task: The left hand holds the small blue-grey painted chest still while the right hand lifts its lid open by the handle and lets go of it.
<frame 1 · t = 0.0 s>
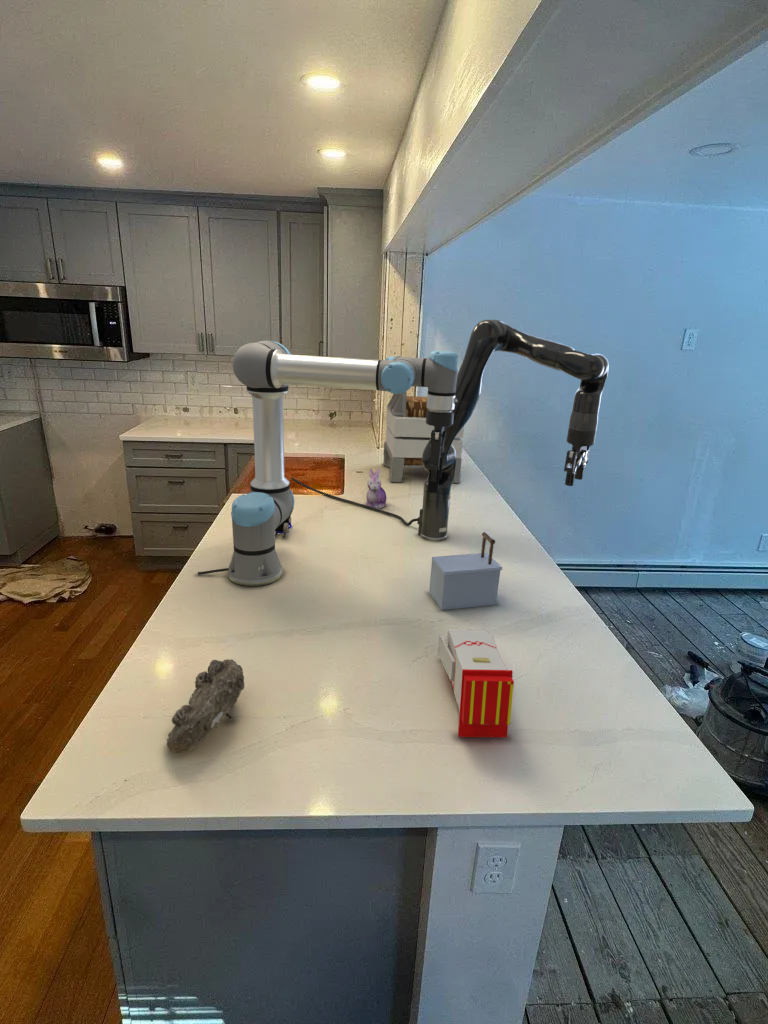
left hand: (434, 485, 161), 28 cm above the counter, tool pointing down, fingers open, 13 cm apart
right hand: (573, 482, 165), 29 cm above the counter, tool pointing down, fingers open, 8 cm apart
lid: (467, 551, 152), point 14 cm above the counter, hinge at 0.0°
toy: (469, 691, 119), on the counter
fossil: (212, 717, 108), on the counter
chest: (462, 598, 157), on the counter
grey slatted crate: (419, 473, 275), on the counter
figurine: (375, 506, 227), on the counter
figurine character: (282, 532, 197), on the counter
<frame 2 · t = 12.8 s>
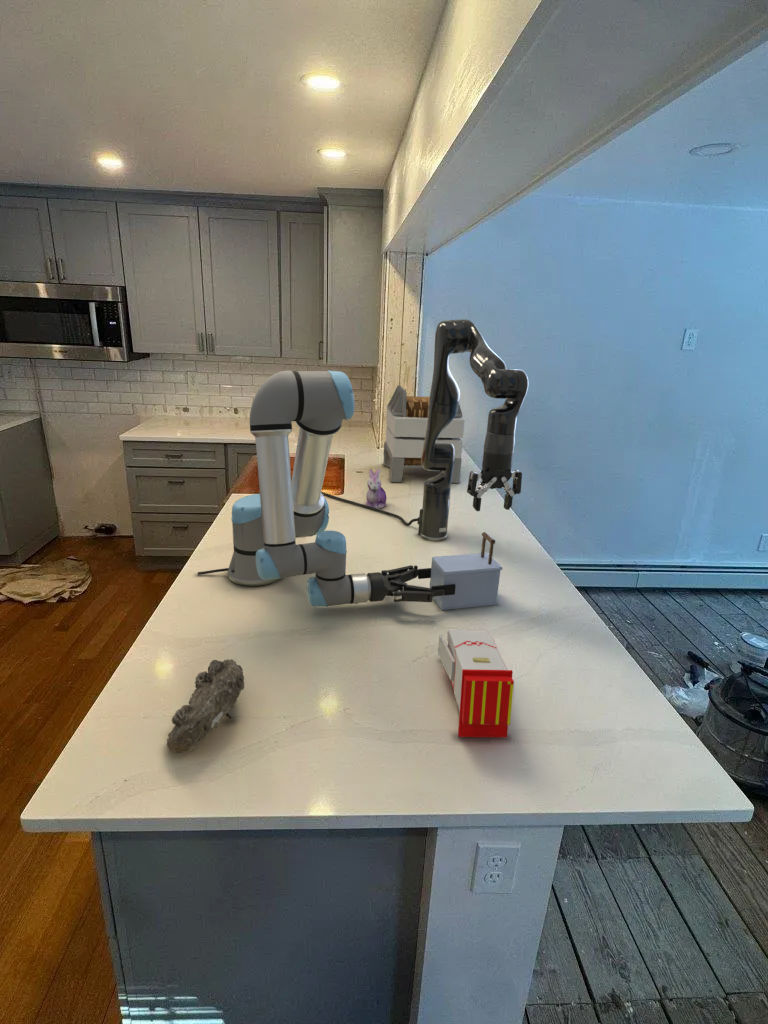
left hand: (447, 580, 154), 6 cm above the counter, tool horizontal, fingers closed on chest, 10 cm apart
right hand: (491, 509, 150), 26 cm above the counter, tool pointing down, fingers open, 8 cm apart
chest: (462, 598, 157), on the counter, touching left hand
everything else where it was.
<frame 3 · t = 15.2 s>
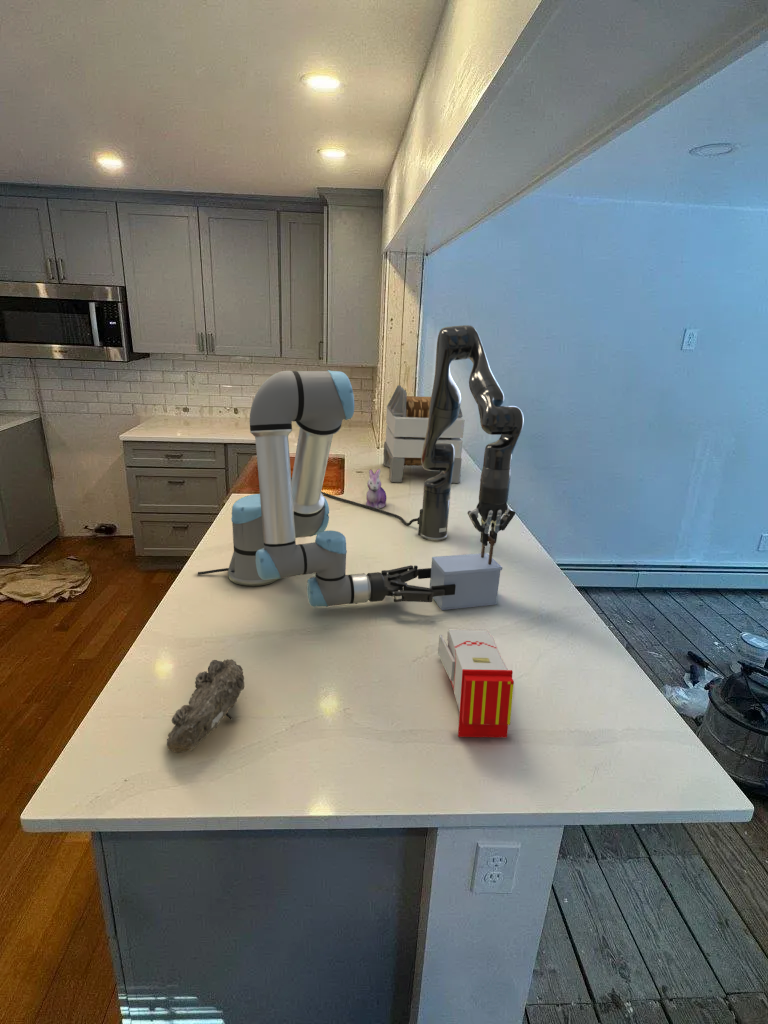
left hand: (447, 580, 153), 6 cm above the counter, tool horizontal, fingers closed on chest, 10 cm apart
right hand: (487, 544, 153), 16 cm above the counter, tool pointing down, fingers closed
lid: (467, 551, 152), point 14 cm above the counter, hinge at -0.1°, touching right hand
chest: (462, 598, 157), on the counter, touching left hand
everything else where it was.
when the left hand's fingers open (6 cm above the counter, at t = 22.5 s): chest stays where it is, on the counter.
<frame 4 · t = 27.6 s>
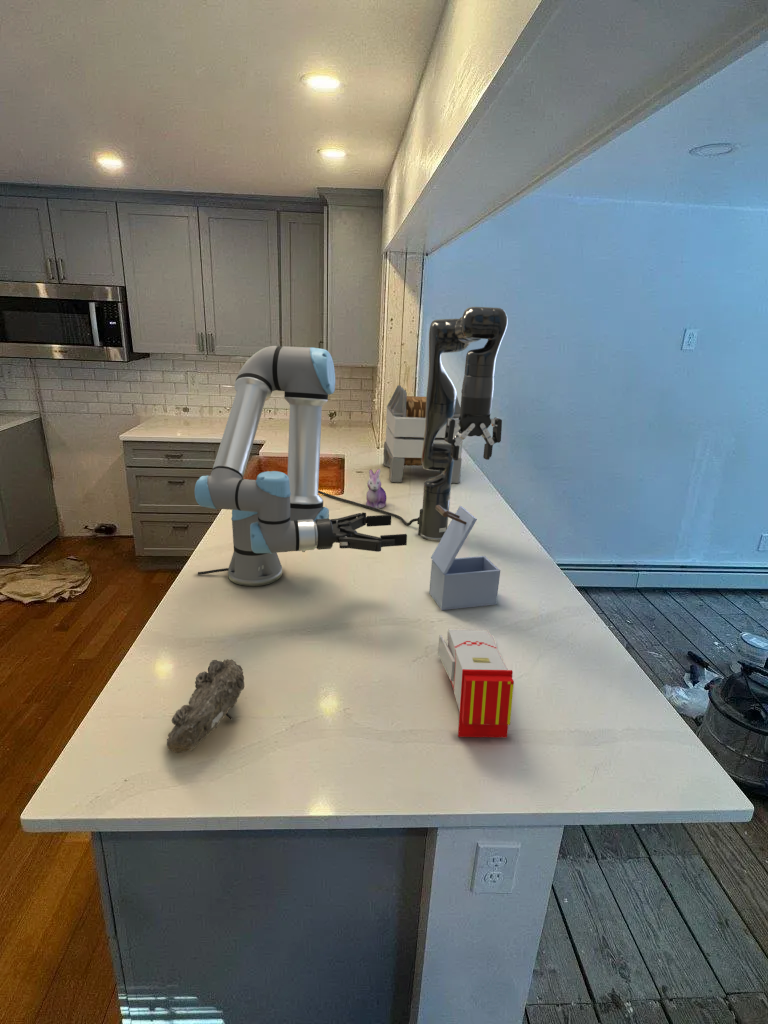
left hand: (398, 529, 144), 22 cm above the counter, tool horizontal, fingers open, 13 cm apart
right hand: (470, 459, 143), 40 cm above the counter, tool pointing down, fingers open, 8 cm apart
lid: (441, 534, 148), point 20 cm above the counter, hinge at 64.1°
chest: (462, 598, 157), on the counter
everything else where it was.
at the end: lid at +64° (first picture: +0°); the left hand is holding nothing; the right hand is holding nothing; chest tilted 0°; chest never tilted more than 1° during the clip; chest moved 0.0 cm from its start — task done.
